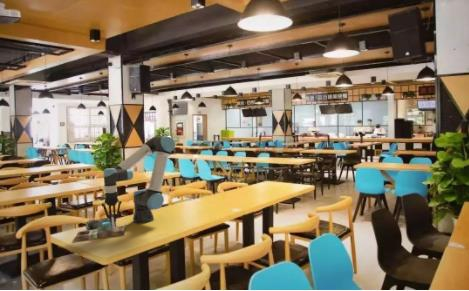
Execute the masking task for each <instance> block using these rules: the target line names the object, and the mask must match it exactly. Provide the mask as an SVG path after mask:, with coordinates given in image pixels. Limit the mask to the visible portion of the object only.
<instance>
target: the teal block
mask: <svg viewBox="0 0 469 291" xmlns="http://www.w3.org/2000/svg"><path fill="white" fill-rule="evenodd" d="M109 226H111V223H110V222H103V223H102V227H109Z"/></svg>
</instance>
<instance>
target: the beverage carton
mask: <svg viewBox="0 0 469 291" xmlns="http://www.w3.org/2000/svg"><path fill="white" fill-rule="evenodd" d="M105 219H110V218H109V217H104V218H100V219H96V220H92V221H85V231H87V230H95V229H97V228H99V220H105ZM114 223H115V227H117V221H116V222H114Z"/></svg>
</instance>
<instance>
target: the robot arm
mask: <svg viewBox="0 0 469 291" xmlns="http://www.w3.org/2000/svg"><path fill="white" fill-rule="evenodd" d="M175 148H176V142H175V140H174V138H173V137H172V136H170V135H156V136H154V137H151V138H150V139H148V140H147V141H145V142H144V143H143V144H142V146H141V147H140V148H139V149H137V150H136V151H135V152H133V153H132V154H131V155H129V156H128V157H126V159H124V160H123V161H121V162H120V163H119V164H118V165H116V166H115V167H114V168H113V167H110V168H105V169H103V181H104V182H103V183H104V199H105V200H104V202H102V203H101V206H102V207H103V210H104V213H105V216H106V218H108V217H109V218H110V223H112V228H115V223H114V222H116V223H117V217H119V214H120V208H121V205H122V203H123V202H122V201H121V200H119V197H118V192H117V191H118V189H117V188H118V187H117V183H118V182H124V181H130V180H132V179H133V177H134V173H133V170H132V169H131V168H133V167H134V166H136V165H137V164H139V163H140V162H141V161H142V160H144V159H145V158H146V157H147V156H149V155H150V156H151V155H152V154H154V153H155V159H154V163H153V168H152V172H151V176H150V181H149V186H148V187H147V188H146V189H145V188H144V189H139V190H135V191H133V196H132V197H133V205H134V208H133V209H134V213H133V217H132V222H133V223H136V224H143V223H149V222H151V221H153V220H154V218H155V217H154V214H153V212H152V210H159V209H160V208H161V207H162V206H163V204H164V202H165V199H164V196H163V190H162V185H163V181H164V177H165V171H166V167H167V161H168V157H170V156H171V153H172V152H173V151H174V149H175ZM117 204H118V205H117ZM106 205H107V206H108V208H107V207H106ZM116 205H117V211H116ZM112 212H113V213H112ZM112 214H113V215H112Z"/></svg>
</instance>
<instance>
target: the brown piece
mask: <svg viewBox="0 0 469 291" xmlns="http://www.w3.org/2000/svg"><path fill="white" fill-rule="evenodd" d="M98 220H99V228H97V229H95V230H81V231H78V232H77V234H76V236H75V242H79V241H80V242H81V241H82V242H83V241H89V240H96V239H105V238H110V237H120V236H125V230H126V229H125V225H121V226H120V225H119V226H116V227H115V228H112V223H111V226H109V227H102V223H103V222H110V219H105V220H100V219H98Z"/></svg>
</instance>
